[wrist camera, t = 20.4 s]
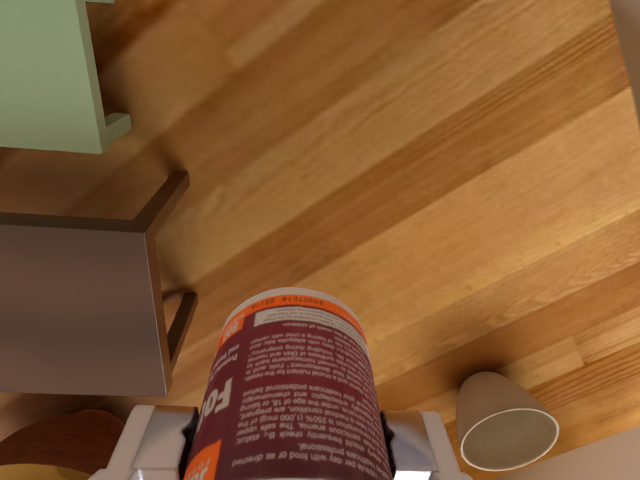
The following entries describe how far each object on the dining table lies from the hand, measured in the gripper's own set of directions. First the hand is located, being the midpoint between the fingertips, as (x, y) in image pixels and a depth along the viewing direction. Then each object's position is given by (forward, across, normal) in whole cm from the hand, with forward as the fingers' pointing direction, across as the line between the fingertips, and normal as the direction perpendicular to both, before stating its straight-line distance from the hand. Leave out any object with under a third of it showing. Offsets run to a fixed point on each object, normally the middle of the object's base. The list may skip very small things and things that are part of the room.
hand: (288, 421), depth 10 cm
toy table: (+25, +18, +9) cm, 32 cm away
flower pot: (+25, -23, +27) cm, 43 cm away
